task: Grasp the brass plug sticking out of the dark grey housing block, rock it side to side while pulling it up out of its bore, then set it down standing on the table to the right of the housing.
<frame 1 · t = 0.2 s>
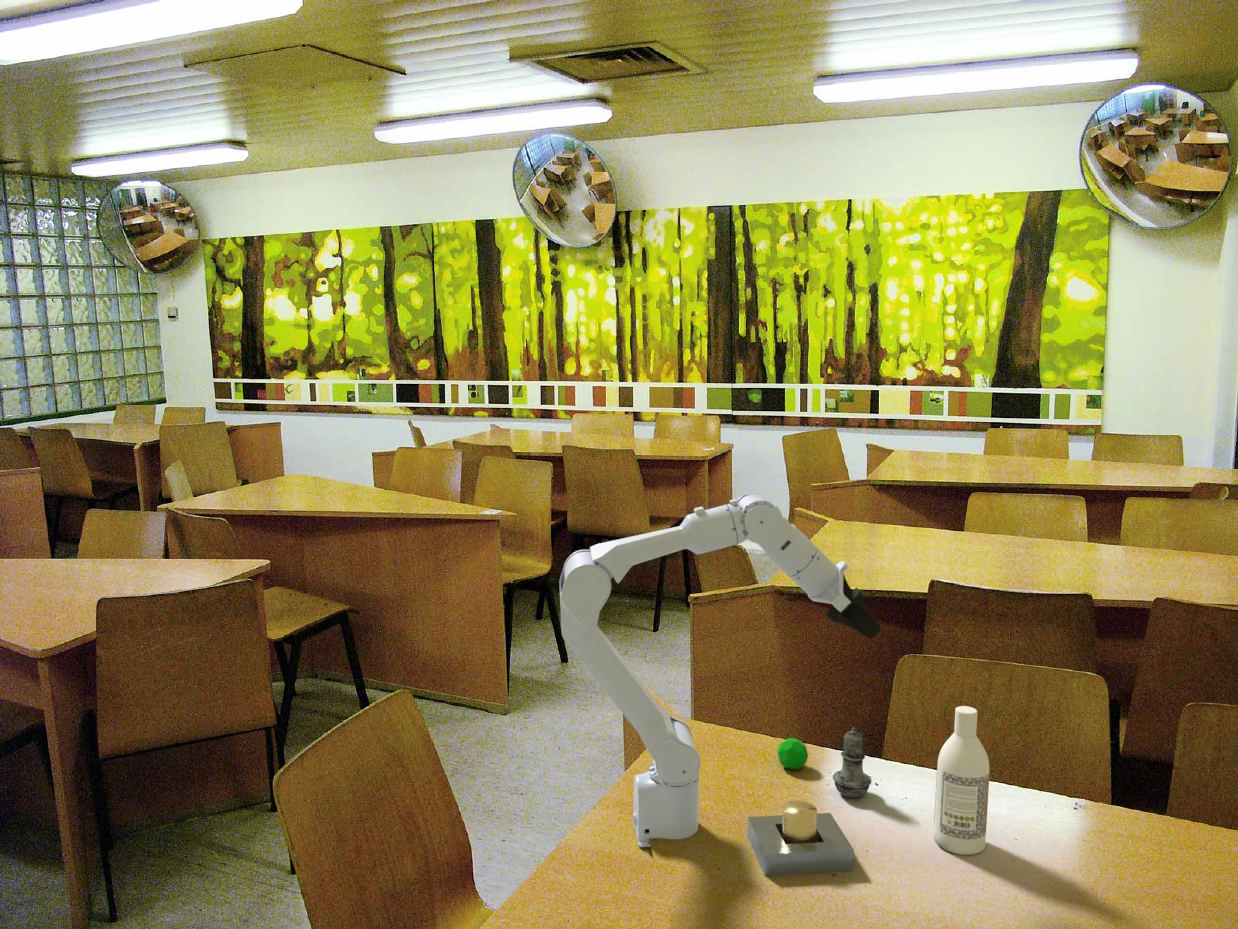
hand: (867, 624, 141), 31 cm above the table, tool tilted 45°, fingers open, 7 cm apart
grey chess piece: (851, 801, 153), on the table
bath foam: (959, 845, 140), on the table
polyhedron: (792, 768, 164), on the table
plug: (798, 853, 136), point 1 cm above the table, touching housing
housing: (798, 860, 136), on the table
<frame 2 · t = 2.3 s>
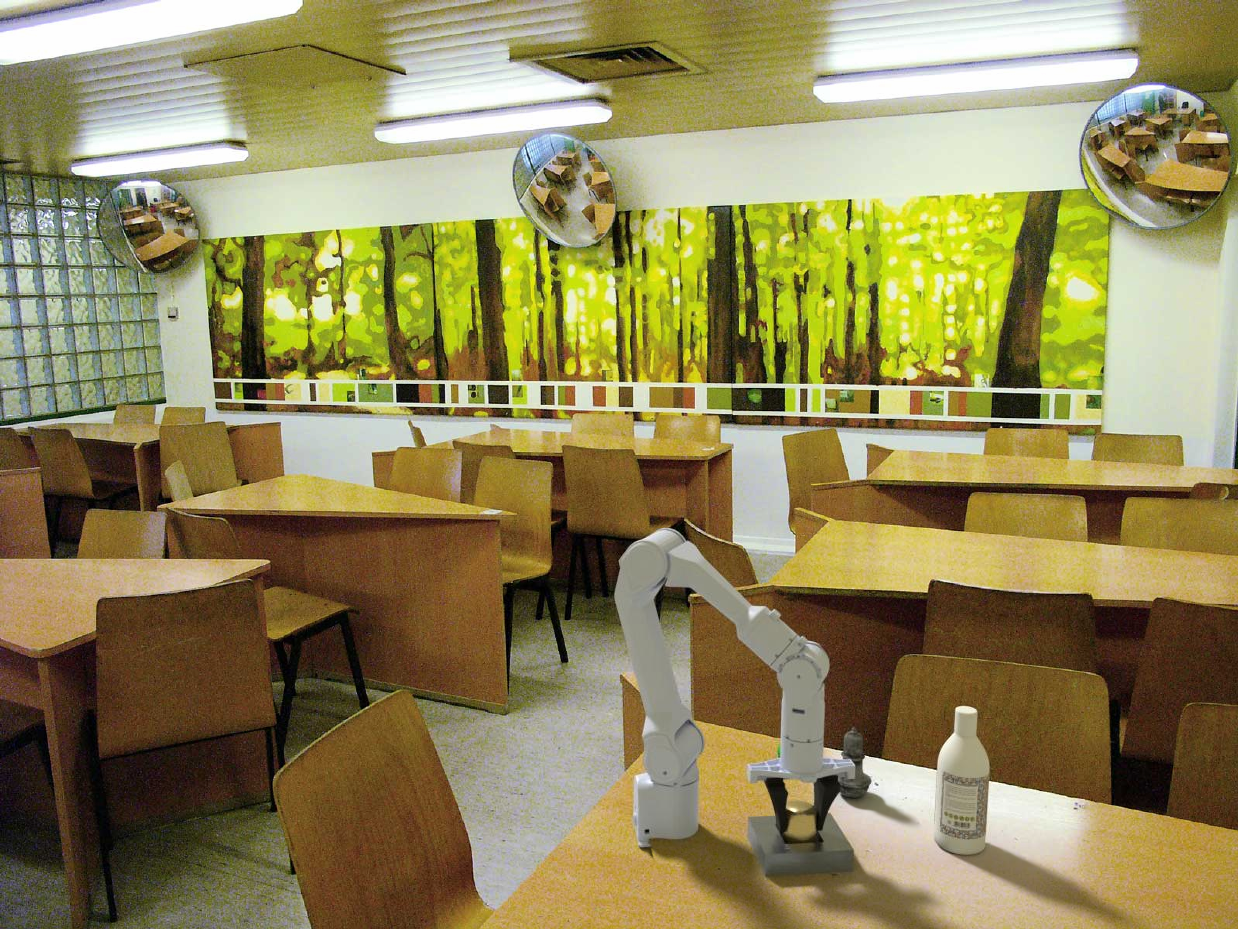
hand: (799, 828, 135), 5 cm above the table, tool pointing down, fingers closed on plug, 5 cm apart
plug: (798, 853, 136), point 1 cm above the table, touching gripper, housing
everything else where it was.
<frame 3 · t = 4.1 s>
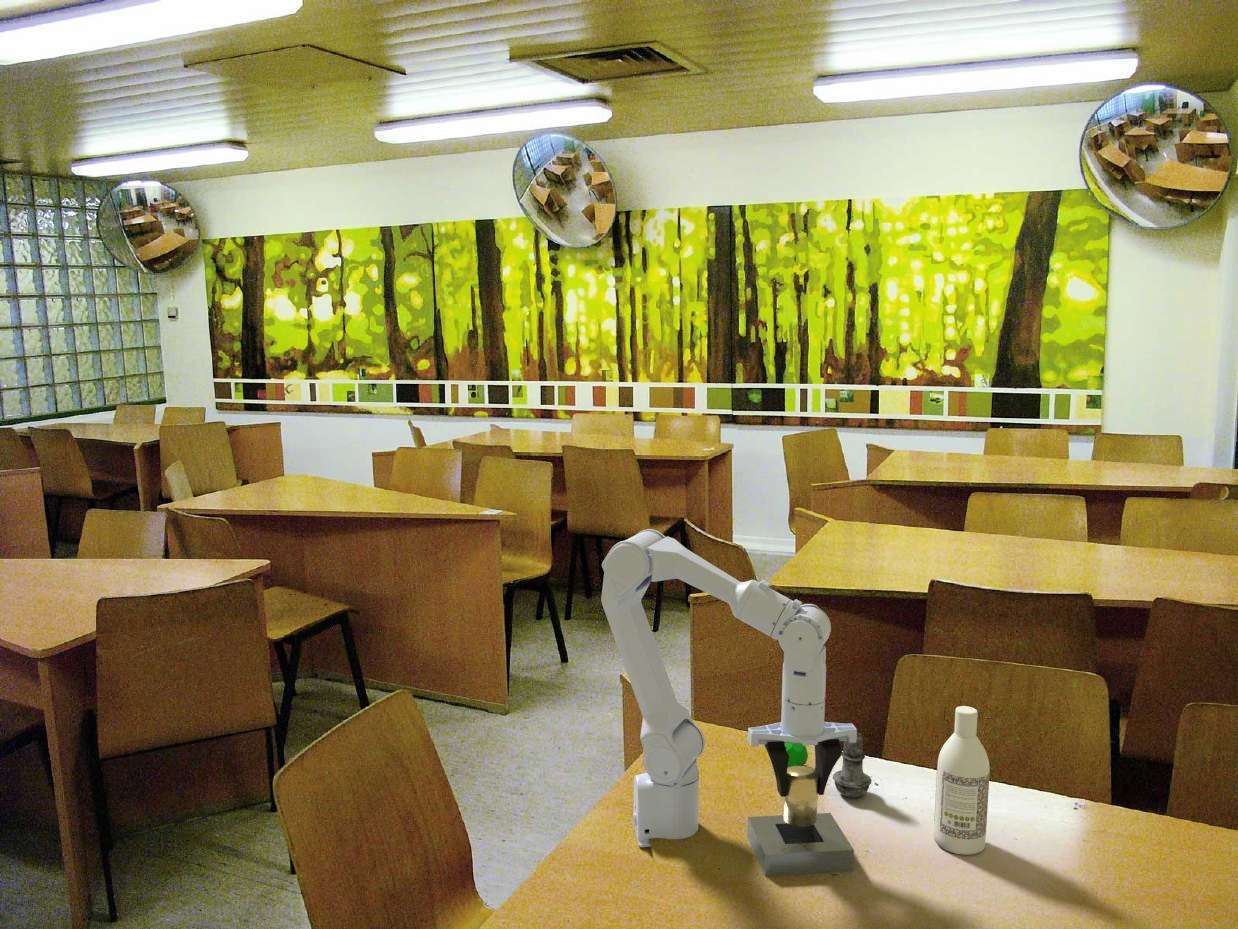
hand: (800, 792, 134), 10 cm above the table, tool pointing down, fingers closed on plug, 5 cm apart
plug: (799, 818, 135), point 6 cm above the table, touching gripper
everything else where it was.
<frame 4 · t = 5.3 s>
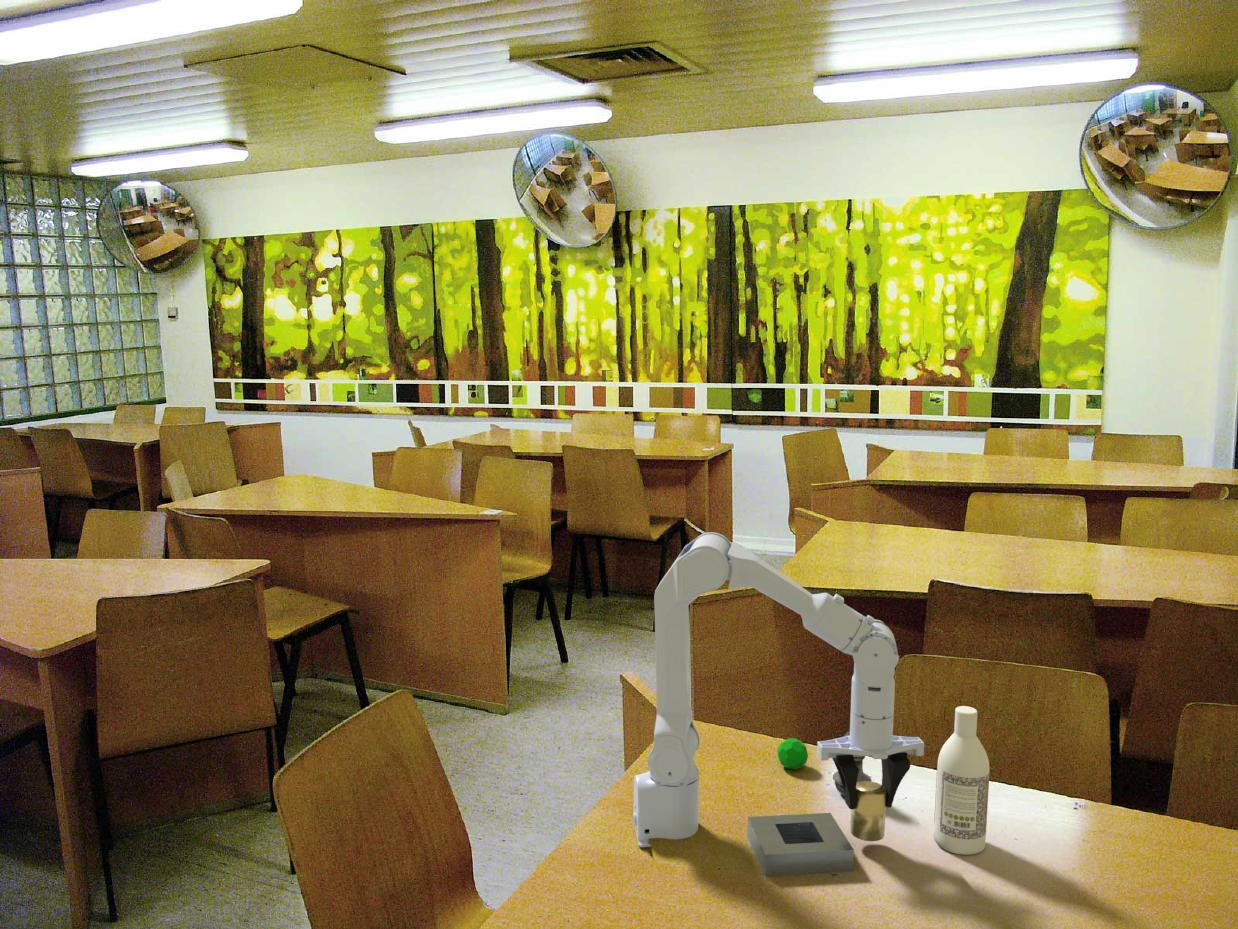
hand: (868, 805, 137), 7 cm above the table, tool pointing down, fingers closed on plug, 5 cm apart
plug: (867, 832, 137), point 3 cm above the table, touching gripper
everything else where it was.
when the fingers open (5 cm above the table, at t = 6.1 s): plug stays where it is, on the table.
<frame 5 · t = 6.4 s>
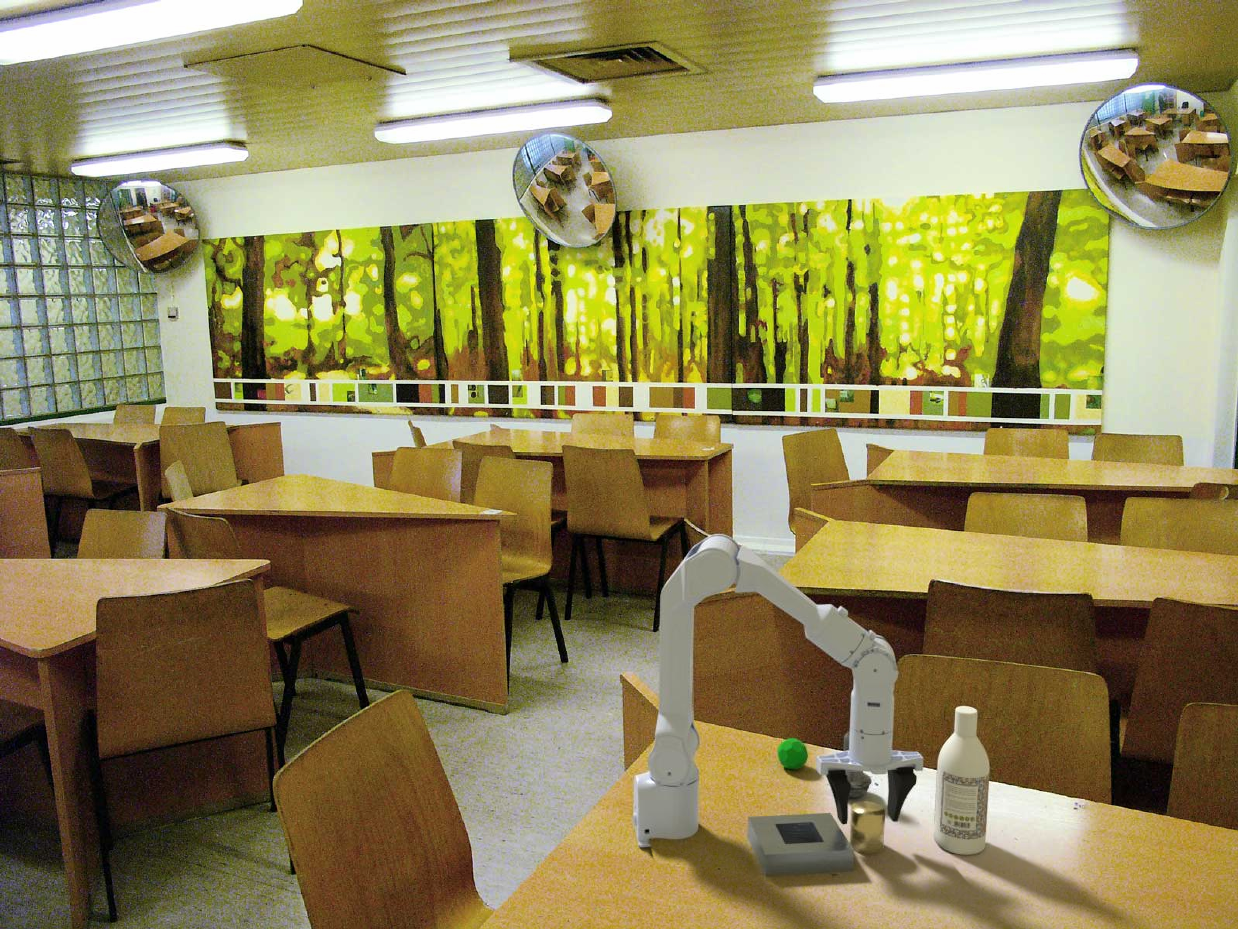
hand: (867, 819, 137), 5 cm above the table, tool pointing down, fingers open, 7 cm apart
plug: (866, 853, 138), on the table
everything else where it was.
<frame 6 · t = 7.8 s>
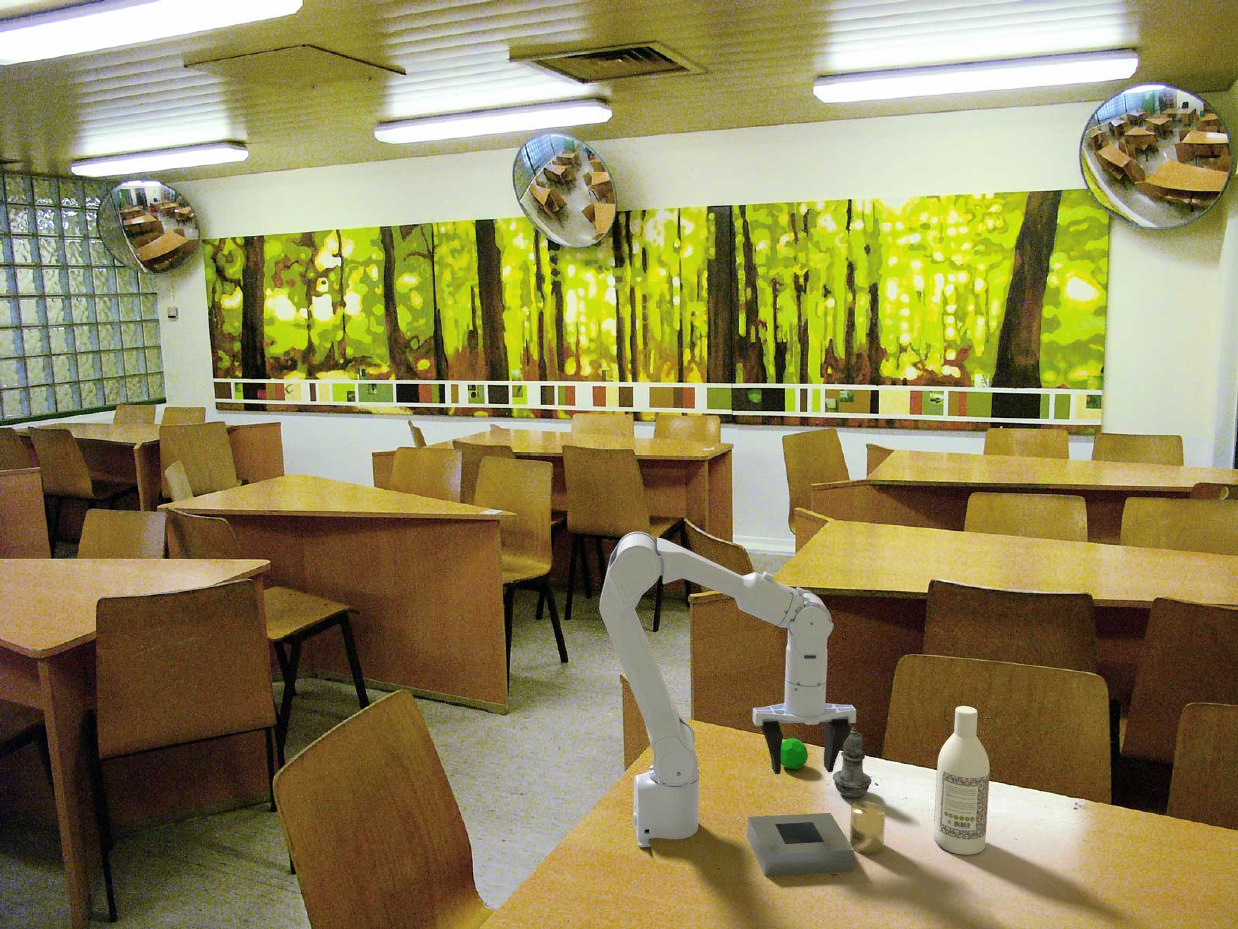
hand: (802, 770, 141), 10 cm above the table, tool pointing down, fingers open, 7 cm apart
nothing on the table moved.
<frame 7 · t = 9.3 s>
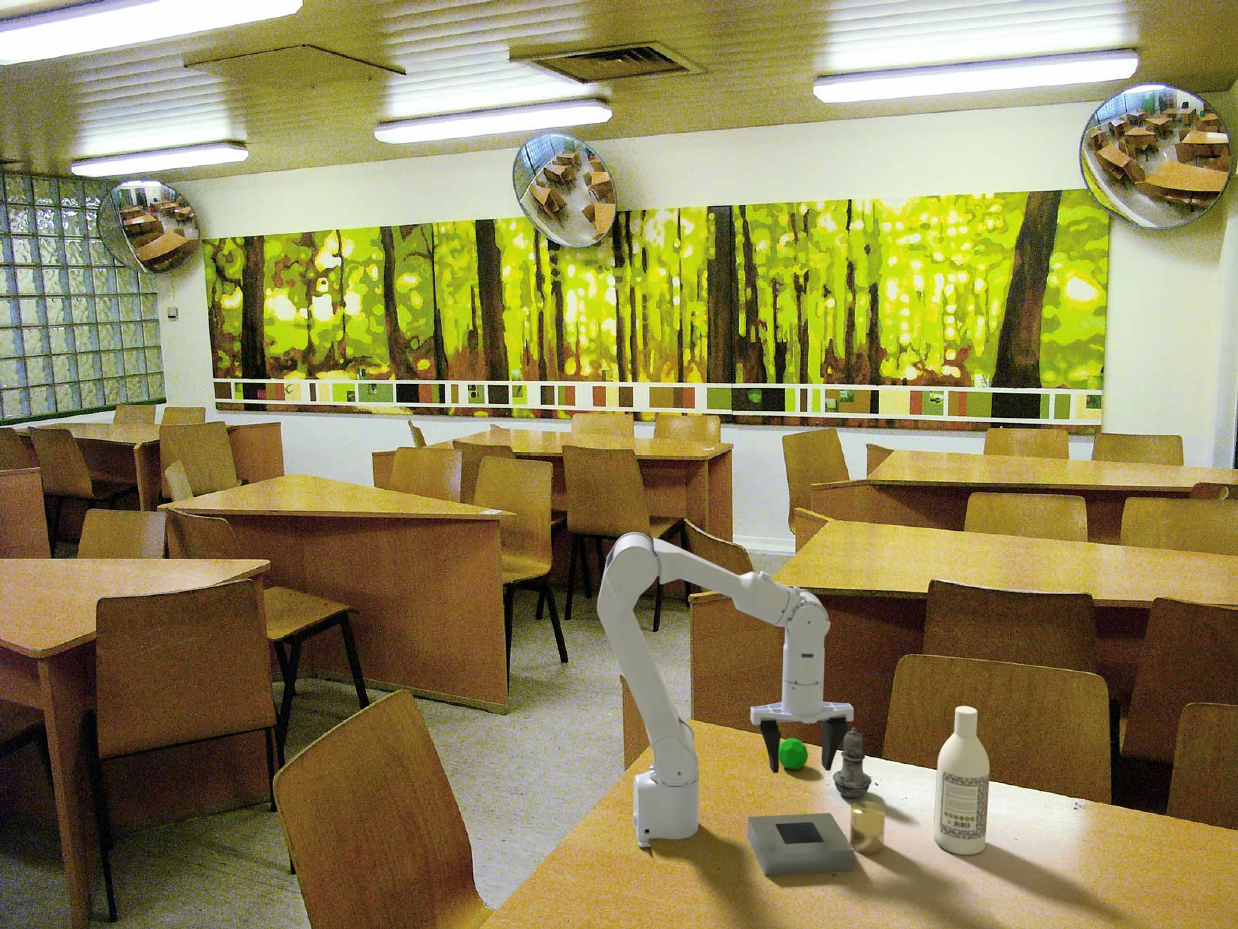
hand: (800, 768, 142), 10 cm above the table, tool pointing down, fingers open, 7 cm apart
nothing on the table moved.
at the end: plug inside the target area (0.1 cm from its centre), on the table; plug tilted 0°; the gripper is holding nothing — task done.
